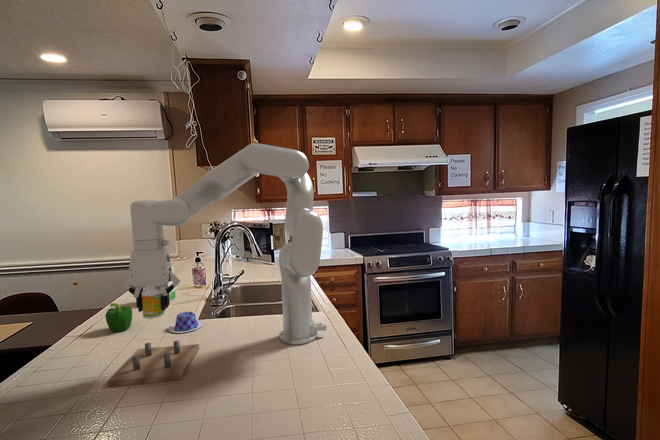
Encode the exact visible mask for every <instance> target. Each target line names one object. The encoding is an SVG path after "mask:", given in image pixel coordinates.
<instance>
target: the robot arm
mask: <svg viewBox="0 0 660 440" xmlns="http://www.w3.org/2000/svg"><path fill="white" fill-rule="evenodd" d="M309 168H310V164H309V160H308V157H307V156H306V155H305V153H304V152H303V151H302V152H301V151H299V150H297V149H292V148H286V147H281V146H275V145H271V144H270V145H269V144H265V143H264V144H263V143H257V142H256V143H250V144H248V145H246V146H245V147H244V148H243V149H240V150H238V152H236V153H235V154H233V155H232V156H230V157H228V158H227V159H225V160H224V161H223V162H222V163H220V164H218V165H216V166H215V167H214V168H212V169H211V170H209V171H208V172H207V173H205V174H204V175H203V176H202V177H201V178H200V179H199V180H197V181H196V182H195V183H194V184H192V185H190V186H189V187H188V188H186V189H184V190H183V191H182V192H180V193H179V194H177V195H176V196H174V197H172V198H171V199H168V200H160V201H158V200H155V199H154V200H153V199H152V200H148V199H147V200H134V201H132V202H131V204H130V221H131V222H130V224H131V232H132V233H131V234H132V236H131V237H132V247H133V250H131V252H130V258H129V269H128V270H129V273H128V274H129V276H128V277H127V278H126V279H125V280H124V281H123V283H122V284H121V285H122V288H124V289H126V290H127V291H128V292H129V293H130V294H131V295H133V298H135V301H136V308H137V309H138V310H137V311H138V312H139V313H141V312H143V308H142V291H143V290H145V288H144V287H146V286H159V287H160V290H161V292H162V296H161V307H162V310H164V311H166V310H167V308H169V306H170V304H171V302H169V293H170V292H171V291H172V290H173V289H174V288H175V289H176V287H177V286H178V285H179V284H180V283H181V279H180V278H178V276H177V275H176V274H175V273H174V274H173V271H172V266H173V265H172V261H171V255H170V252H169V248H167V247H166V246H169V245H170V240H168V239H165V237H164V226H167V227H168V226H170V227H180V226H184V225H185V224H187V223H188V222H189V221H190V219H191V218H192V217H193V216H194V215H195V214H197V213H199V212H200V211H201V210H203V209H204V208H205V207H207V206H208V205H209V206H210V205H211V204H212V203H214V202H216V201H218V200H222V199H223V198H225V197H227V196H228V195H230V194H232V193H233V192H234V191H235V190H237V189H238V188H239V187H241V186H243V184H245V183H247V182H248V181H250V180H251V179H253V178H254V177H255V176H257V175H258V174H261V175H267V176H272V177H273V176H274V177H278V178H279V179H280V180H281V181H282V182H283V184H284V185H285V188H286V194H287V195H286V196H287V197H286V208H285V209H286V210H285V219H284V229H285V231H286V233H287V234H288V236H290V237H291V241H289V242H287V243H285V244H284V245H283V246H282V247H281V249H280V250H279V254H278V266H279V270H280V271H279V272H280V278H281V279H280V280H281V302H282V303H281V304H282V321H283V324H282V325H283V330H282V331H280V332H279V334H278V335H279V336H278V338H279V340H280V341H281V342H282V343H285V344H288V345H303V344H307V343H310V342H313V341H315V340H316V339H317V337H318V332H324V331H327V329H328V328H327V324H323V323H322V322H318V323H316V322H314V319H313V311H312V310H313V309H312V308H313V307H312V304H313V303H312V283H311V276H313V274H315V272H317V270H318V268H319V266H320V263H321V255H322V254H321V253H322V244H323V236H324V225H323V221H322V219H321V216H320V215H319V214H318V213H317V212H316V211H314V195H315V194H314V193H315V192H314V191H315V190H314V185H313V184H314V183H313V182H312V179H311V178H310V176H309V174H308V171H309ZM165 247H166V248H165ZM170 281H173V283H172V284H171V285H170V286H168V282H170Z"/></svg>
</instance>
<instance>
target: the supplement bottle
mask: <svg viewBox="0 0 660 440" xmlns="http://www.w3.org/2000/svg"><path fill="white" fill-rule="evenodd" d="M161 296H162V292H161V290H160V287H159V286H146V287H144V290H143V291H142V308H143V311H142V317H143V318H144V319H146V320H147V319H148V320H150V319H157V318H160V317H163V316H164V315H165V311H166V310H162V307H161Z"/></svg>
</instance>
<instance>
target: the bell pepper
mask: <svg viewBox="0 0 660 440" xmlns="http://www.w3.org/2000/svg"><path fill="white" fill-rule="evenodd" d="M109 306H110V307H113V306H114V307H115V308H109V309H108V310H107V311H106V313H105V321H106V324H107V327H108V329H109V330H110V331H111V332H124V331H126V330H128V329H130V328H131V325H132V320H133V309H132V307H131V305H126V306H124V305H120V304H119V303H115V302H113V303H110V304H109Z"/></svg>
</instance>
